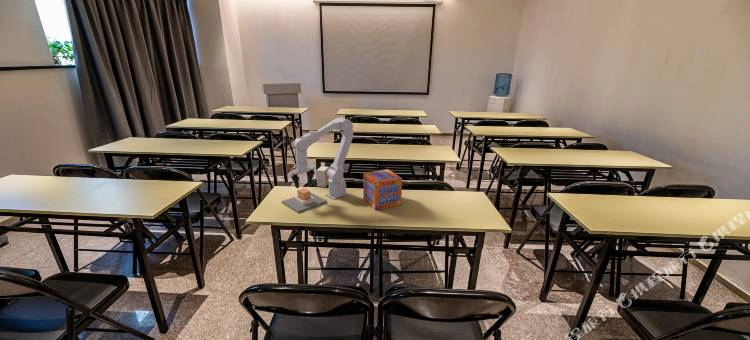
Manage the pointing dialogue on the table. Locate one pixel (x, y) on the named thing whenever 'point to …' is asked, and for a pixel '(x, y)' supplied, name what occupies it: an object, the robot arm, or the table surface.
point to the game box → (382, 189)
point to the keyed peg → (303, 194)
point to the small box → (322, 176)
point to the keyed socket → (304, 203)
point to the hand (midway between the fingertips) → (303, 185)
